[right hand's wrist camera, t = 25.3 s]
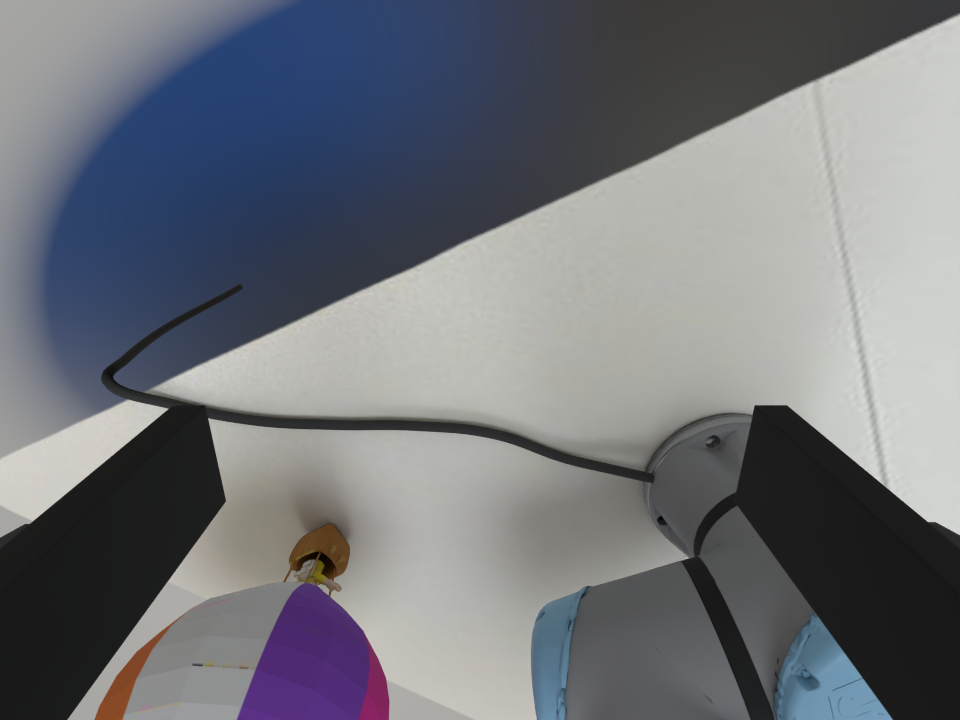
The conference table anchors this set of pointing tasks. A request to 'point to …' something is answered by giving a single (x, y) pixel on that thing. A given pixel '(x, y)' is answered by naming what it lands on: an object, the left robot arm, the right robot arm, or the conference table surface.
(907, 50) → the conference table surface
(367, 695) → the toy
